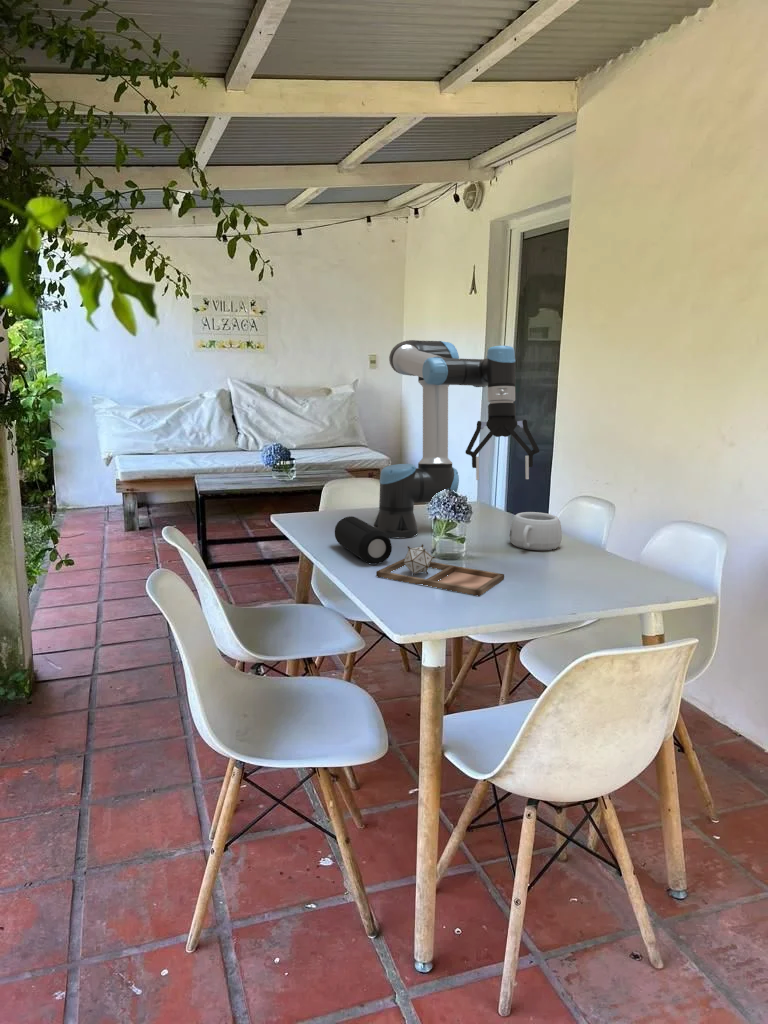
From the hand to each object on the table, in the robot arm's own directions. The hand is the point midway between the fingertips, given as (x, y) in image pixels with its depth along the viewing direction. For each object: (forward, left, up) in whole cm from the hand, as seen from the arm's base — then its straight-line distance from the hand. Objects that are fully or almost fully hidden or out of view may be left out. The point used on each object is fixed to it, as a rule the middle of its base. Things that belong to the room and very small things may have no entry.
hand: (502, 479), depth 210 cm
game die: (-17, -17, -26) cm, 35 cm away
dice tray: (-10, -17, -26) cm, 33 cm away
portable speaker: (-40, -8, -27) cm, 49 cm away
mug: (0, +33, -26) cm, 43 cm away
